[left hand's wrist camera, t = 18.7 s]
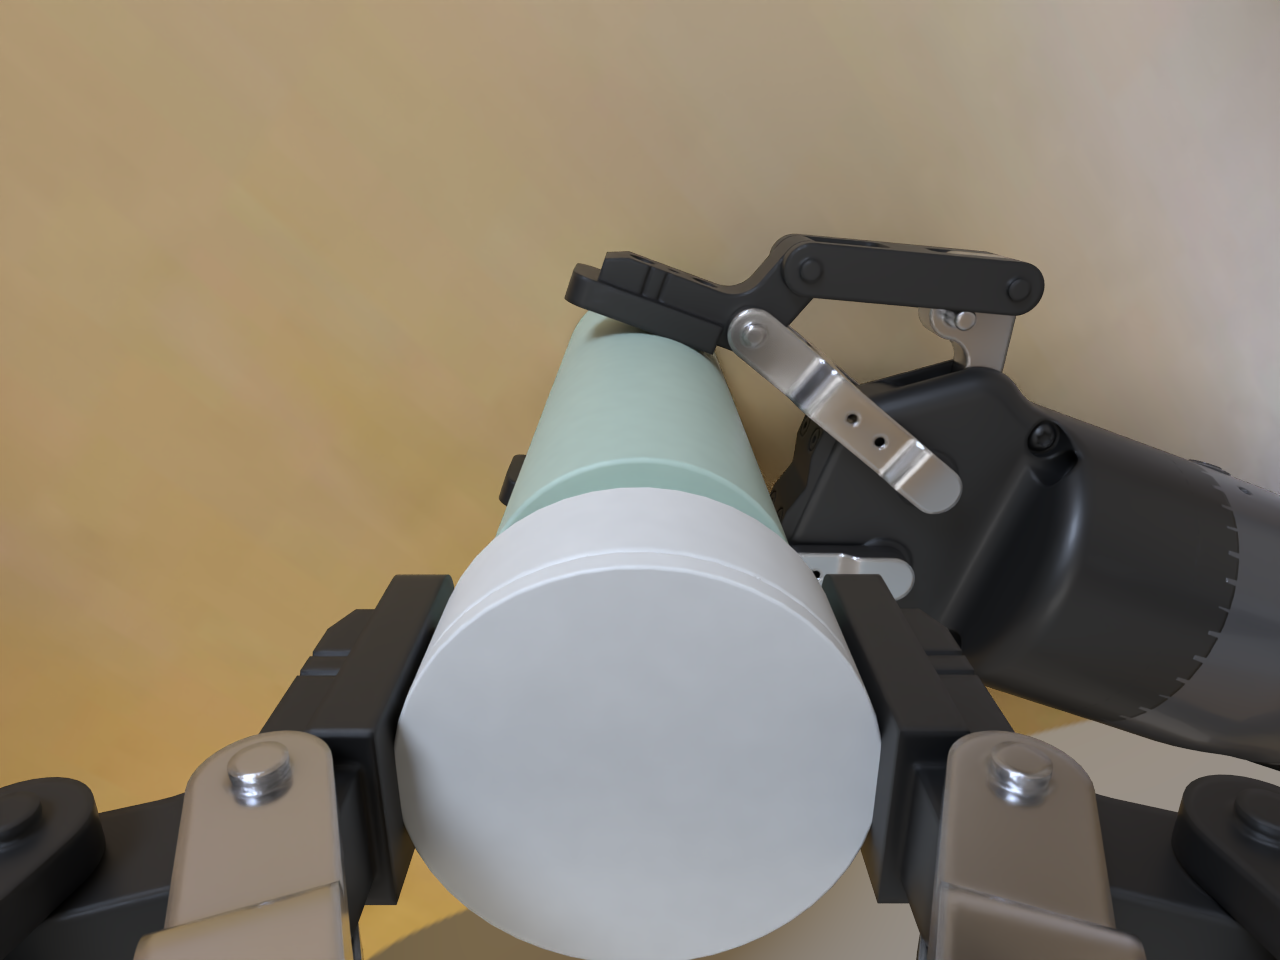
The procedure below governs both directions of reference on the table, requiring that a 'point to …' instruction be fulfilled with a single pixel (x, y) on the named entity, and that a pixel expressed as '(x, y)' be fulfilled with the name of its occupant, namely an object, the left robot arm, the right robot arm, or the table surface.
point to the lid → (638, 731)
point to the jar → (639, 426)
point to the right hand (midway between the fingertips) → (540, 384)
